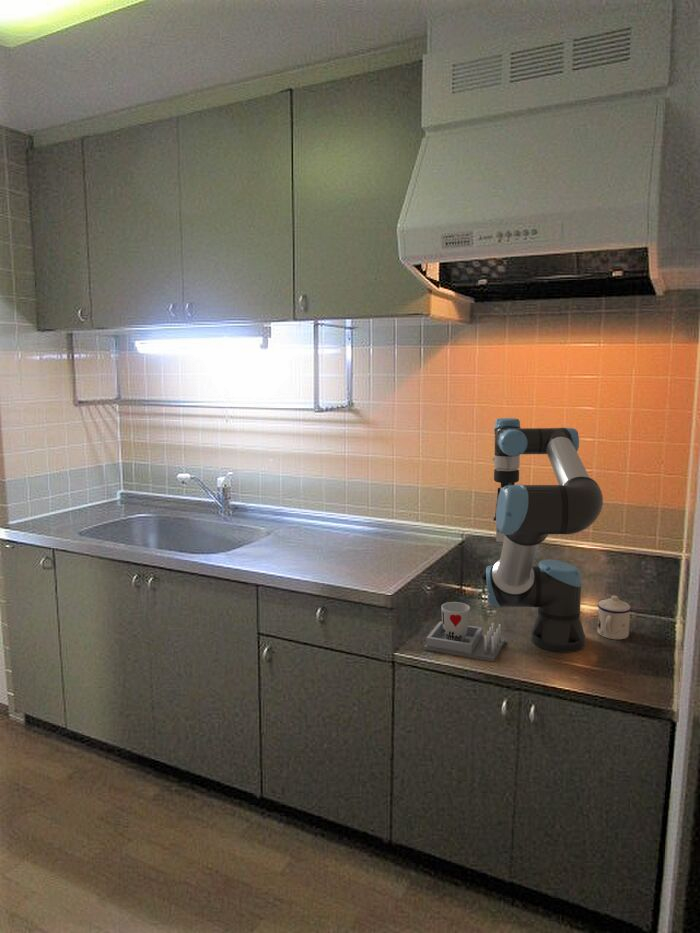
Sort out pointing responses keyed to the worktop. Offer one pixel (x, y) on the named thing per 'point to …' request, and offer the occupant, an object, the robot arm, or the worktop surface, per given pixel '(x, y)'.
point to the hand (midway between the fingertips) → (505, 536)
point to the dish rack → (467, 643)
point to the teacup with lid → (613, 618)
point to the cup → (455, 620)
